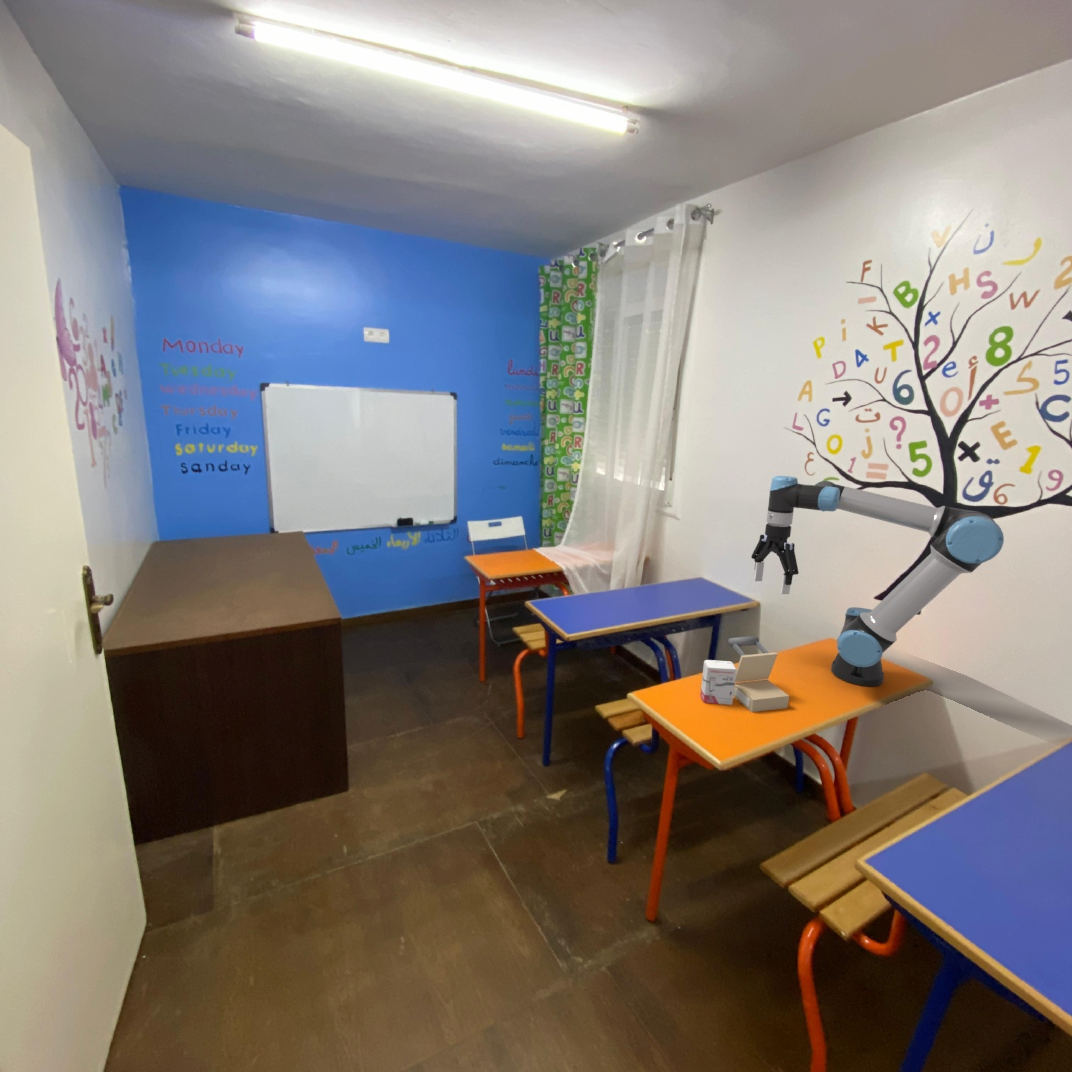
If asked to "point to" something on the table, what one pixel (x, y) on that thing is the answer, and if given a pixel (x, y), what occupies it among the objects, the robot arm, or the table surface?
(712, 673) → the ink box
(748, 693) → the carton
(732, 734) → the table surface
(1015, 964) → the table surface
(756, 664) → the flap
